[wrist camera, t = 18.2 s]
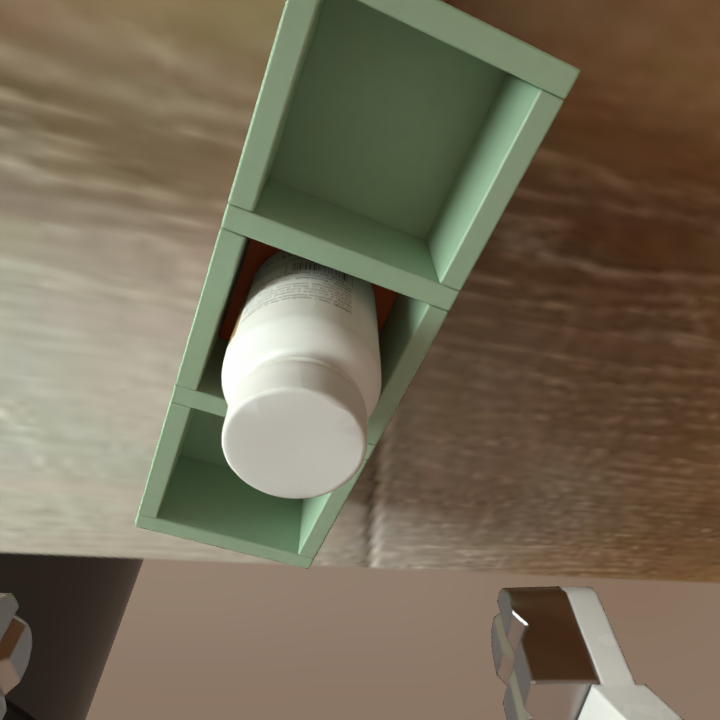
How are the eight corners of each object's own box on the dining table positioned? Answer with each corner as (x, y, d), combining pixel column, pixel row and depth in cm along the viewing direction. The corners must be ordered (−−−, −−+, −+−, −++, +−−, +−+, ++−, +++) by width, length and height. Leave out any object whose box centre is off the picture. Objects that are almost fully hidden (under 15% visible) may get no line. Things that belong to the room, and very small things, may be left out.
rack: (313, 494, 26) (308, 570, 23) (163, 452, 25) (133, 527, 21) (534, 55, 17) (582, 70, 13) (314, -53, 15) (304, -68, 12)
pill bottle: (222, 280, 20) (159, 423, 13) (333, 217, 19) (324, 338, 12) (293, 373, 22) (269, 536, 15) (397, 321, 21) (419, 473, 14)
